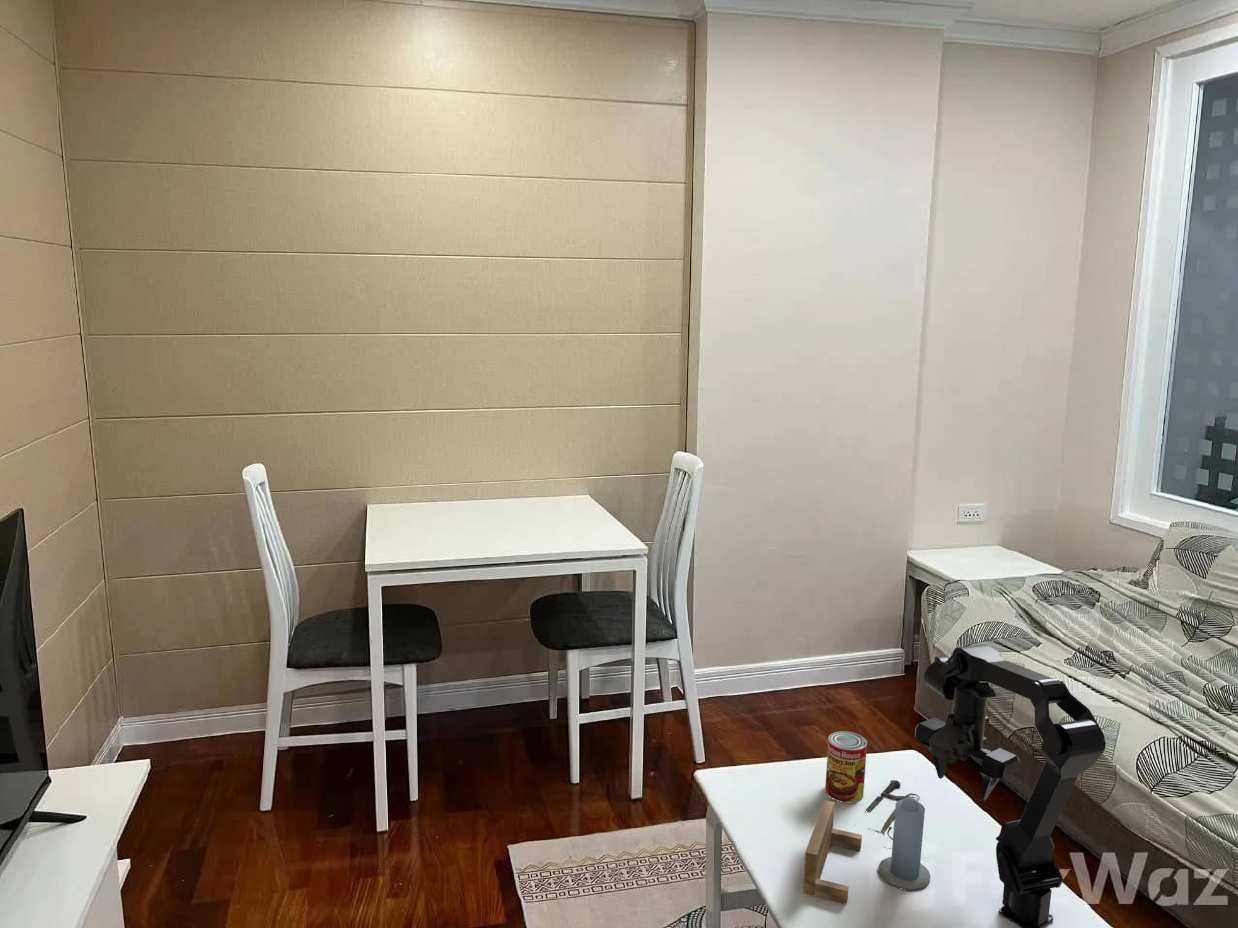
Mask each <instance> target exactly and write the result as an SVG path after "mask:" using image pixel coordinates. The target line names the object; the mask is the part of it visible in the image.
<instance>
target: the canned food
mask: <svg viewBox="0 0 1238 928" xmlns="http://www.w3.org/2000/svg"><path fill="white" fill-rule="evenodd" d="M827 738H828V740H827V741H828V742H827V756H826V772H825V787H824V789H825V790H824V791H826V792H825V794H826V795H827V797H829V796H830V797H831V798H830V797H829V798H830V799H832V798H834V799H835V801H836V800H839V801H842V802H841V803H844V802H853V803H857V802H860V801H861V800H862V799H864V798H863V797H864V790H865V777H866V766H867V747H868V741H867V739H866V738H865V737H863V736H862V735H861V734H859V733H855V732H852V731H846V730H845V731H835V732H832V733H830V734H829V736H828V737H827ZM834 799H833V800H834ZM859 800H860V801H859ZM839 801H838V802H839Z"/></svg>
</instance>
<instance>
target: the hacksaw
mask: <svg viewBox="0 0 1238 928" xmlns="http://www.w3.org/2000/svg"><path fill="white" fill-rule="evenodd" d="M900 788H901V782H899V781H898V780H895V779H891V780H890V781H889V784H888V785H887V787H886V788H885V789H884V790H883V791H882V792H881V793H880V796H879V795H878V796H876V798H875V799H874V800H873V801H872V802H871V803H870V805H868V806H867V807H866V808H865V810H866V811H867V812H866V811H865V810H864V811H865V812H864V813H869V814H870V813H872V812H873V810H874V809H875V808H876V807H877V806H878V805H879V804H880V803H881V802H882V801H883V799H884V798H888V799H890V800H892V799H893V800H897V801H899V800H902V799H905V798H908V797H910V796H916V797H918V799H917V800H916V801H917V802H919V801H920V795H918V794H916V793H908V794H905V795H894V794H891V793H892V792H893V791H894V790H896V789H900ZM894 819H895V809H893V811H892V812H891V814H889V817H888V818H887V819H886V821H884V822H885V823H884V824H883V825H882V827H881V829H880V831H879V830H876V829H874V830H875V831H874V830H872V831H873V832H876V833H878V834H881V835H883V836H884V835H886V834H887V836H888V837H889V838H890V839H891V840H892V841H893V837H892V836H890V833H889V832H890V831H891V830H892V829H893V828H892V826H891V825H892V822H894ZM854 827H855V824H854ZM870 829H871V828H868V830H870ZM870 831H871V830H870ZM886 831H887V832H886ZM885 833H886V834H885ZM883 848H885V849H886V847H885V846H883ZM887 849H890V850H892V847H890V848H889V847H888V848H887Z"/></svg>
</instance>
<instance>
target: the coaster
mask: <svg viewBox="0 0 1238 928" xmlns="http://www.w3.org/2000/svg"><path fill="white" fill-rule="evenodd" d="M891 857H892V856H889V857H886V858H883V859H882V860H881V861H880V862H879V864H878V868H877V870H879V871H878V874H880V875H879V876H880V877H882V878H883V879H882V878H881V879H882V880H883V881H884V880H885V881H886V882H885V881H884V882H885V883H887V884H888V885H890V886H892V885H893V886H892V887H894V886H895V887H894V888H896V887H897V889H899V888H902V889H901V890H903V889H905V891H919V890H920V891H921V890H922V889H925V888H927V887H928V886H929V884H930V881H931V873H930V871H929V870H928V868H927V867H926V866H925V865H924V864H922V863H921V862H920V872H919V877H918V878H917V879H915V880H911V881H907V880H902V879H899V878H897V877H896V876H894V875H893V874H892V872H891ZM927 885H928V886H927ZM926 886H927V887H926Z"/></svg>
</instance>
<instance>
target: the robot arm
mask: <svg viewBox="0 0 1238 928" xmlns="http://www.w3.org/2000/svg"><path fill="white" fill-rule="evenodd" d="M923 679H924V680H923V681H924V682H925V684H926V686H927V687H929V688H930V689H932V690H933V691H935V692H936V693H938V694H939V695H940V696H942V697H943V698H944V699H946V700H948V701H952V711H951V713H950V714H947V717H946V720H945V722H944V721H942V720H940V719H939V718H936V717H931V718H930V719H926V720H924V721H922V722H919V723H918V724H917V725H916V726H915V731H914V738H915V739H916V740H919V743H920V744H921V745H923V746H924V747H925V748H926V749H927V750H929V752H930V755H931V756H932V760H933V763H934V767H935V771H936V774H937V777H938V779H939V780H941V779H943V778H944V777H945V774H946V770H947V765H948V764H953V763H955V762H956V761H957V760H961V761H963V762H964V761H966V760H967V759H968V758H969V757H970V756H973V757H976V758H977V759H979V760H981V768H982V770H980V771H979V773H980V775H981V776H982V781H981V791H980V801H983V802H984V801H987V799H988V798H989V797H990V794H991V793H992V791H994V790H993V789H994V788H995V787H996V785H997V783H999V781H1000V780H1001V779H1005V778H1007V777H1009V776H1011V775H1013V774H1015V773H1017V772H1019V771H1020V765H1021V760H1020V758H1019V756H1017V755H1016V754H1014V753H1012V752H1009V751H1008V750H1005V749H1003V748H1001V747H999V748H997V749H995V750H992V751H990V750H988V749H985V748H983V747H984V745H986V744H987V743H988V737H987V736H984V734H985V726H986V724H989V723H990V716H987V715H986V713H987V706H988V705H987V703H988V699H992V698H995V697H997V693H996V691H995V690H994V689H993V688H992V687H991V686H990V684H992V685H995V686H996V687H999V688H1002V689H1004V690H1007V691H1008V692H1011V693H1013V694H1016V695H1018V696H1020V697H1023V698H1025V699H1028V700H1030V702H1031V704H1032V706H1033V708H1034V727H1035V729H1036V730H1037V733H1038V734H1039V737H1040V739H1041V740H1042V743H1041V747H1040V749H1041V752H1042V755H1043V757H1044V761H1045V762H1044V765H1043V767H1042V769H1041V772H1040V774H1039V776H1038V779H1037V781H1036V783H1035V786H1034V788H1033V791H1032V792H1031V794H1030V797H1029V799H1028V802H1027V803H1026V806H1025V809H1024V811H1023V813H1022V816H1021V818H1020V819H1018V820H1012V821H1008V822H1004V823H1003V824H1002V825H1001V827H1000V832H999V835H998V836H996V837H995V840H996V841H997V842H996V847H995V856H996V865H997V870H998V871H997V872H998V878H999V881H1000V882H1002V884H1003V891H1002V900H1001V901H1002V905H1003V906H1001V907H1000V908H998V913H999V914H1000V915H1002V916H1003V917H1005V918H1006V919H1008V920H1010V921H1012V922H1013V923H1015V924H1017V925H1018V926H1020V927H1021V928H1043V927H1044V926H1046V925H1048V924H1049V923H1051V922H1052V921H1054V915H1053V914H1051V913H1050V909H1051V898H1052V890H1053V889H1055V888H1056V889H1058V888H1059V889H1060V887H1061V885H1062V883H1063V882H1064V878H1063V876H1062V874H1061V873H1062V872H1061V871H1060V869H1059V867H1058V864H1057V861H1056V860H1055V859H1056V858H1055V857H1054V852H1055V846H1054V843H1053V842H1054V841H1053V839H1052V836H1051V835H1052V833H1053V830H1054V828H1055V826H1056V824H1057V822H1058V820H1059V817H1060V815H1061V814H1062V812H1063V809H1064V807H1065V805H1066V803H1067V801H1068V798H1069V796H1070V795H1071V794H1070V793H1071V792H1072V790H1073V788H1074V786H1075V782H1076V781H1077V779H1078V777H1079V775H1081V774H1082V773H1083V772H1084V771H1087V769H1089V768H1091V767H1092V766H1094V765H1095V764H1096V762H1097V761H1098V760H1099V759H1100V757H1101V756H1102V755H1103V754H1104V752H1105V750H1106V745H1107V744H1106V738H1105V734H1104V732H1103V730H1102V728H1101V727H1100V725H1099V724H1098V721H1097V720H1096V717H1094V715H1093V714H1092V711H1091V710H1090V709H1089V708H1088V707H1087V706H1086V705H1085V704H1083V702H1081V701H1080V700H1079V699H1077V698H1076V697H1075V696H1074V695H1073V694H1072V693H1071V692H1070V690H1069V688H1068V687H1067V685H1066V684H1065V682H1064V681H1063V680H1062V679H1060V678H1057V677H1051V676H1047V675H1046V674H1042V673H1039V672H1038V671H1034V670H1032V669H1029V668H1026V667H1024V666H1021V665H1018V664H1016V663H1013V662H1011V661H1009V660H1006V659H1005V658H1003V656H1002V655H1001V652H1000V651H998V650H996V649H995V648H993V647H992V646H990V645H988V644H984V643H983V644H976V645H967V646H958V647H954V649H953V651H952V654H951V655H950V656H949V657H947V656H946V655H936V656H934V662H932V663H931V664H930V665H929V666H928V667H927V668H926V670H925V672H924V674H923ZM1053 704H1056V705H1057V707H1058V708H1059V709H1061V710H1062V711H1063V712H1064V713H1065V714H1066V715H1068V716H1069V717H1070V718H1072V719H1073V720H1070V721H1063V722H1057V723H1054V722H1053V721H1052V719H1051V716H1050V705H1053Z"/></svg>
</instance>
